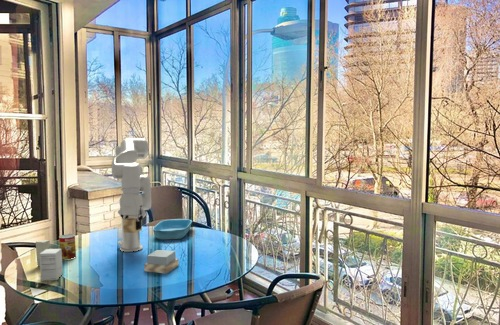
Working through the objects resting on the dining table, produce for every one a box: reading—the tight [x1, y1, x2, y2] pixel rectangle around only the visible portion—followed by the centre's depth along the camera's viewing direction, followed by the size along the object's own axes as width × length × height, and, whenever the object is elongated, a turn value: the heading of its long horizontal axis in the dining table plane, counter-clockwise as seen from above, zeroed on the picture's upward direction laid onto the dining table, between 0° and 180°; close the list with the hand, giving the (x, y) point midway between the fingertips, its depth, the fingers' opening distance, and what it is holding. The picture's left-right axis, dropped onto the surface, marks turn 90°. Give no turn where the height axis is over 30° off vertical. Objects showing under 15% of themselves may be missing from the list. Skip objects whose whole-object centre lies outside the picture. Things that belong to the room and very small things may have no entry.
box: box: [35, 239, 51, 267], centre depth 201 cm, size 5×4×13 cm
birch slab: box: [143, 258, 180, 275], centre depth 196 cm, size 12×12×4 cm
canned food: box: [58, 233, 77, 260], centre depth 213 cm, size 8×8×12 cm
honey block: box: [123, 217, 143, 233], centre depth 188 cm, size 6×6×6 cm
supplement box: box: [39, 248, 64, 282], centre depth 184 cm, size 7×7×13 cm
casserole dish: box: [152, 218, 193, 240], centre depth 263 cm, size 37×22×7 cm, turn 179°
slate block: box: [146, 249, 177, 265], centre depth 195 cm, size 10×10×4 cm
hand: (132, 228), depth 188 cm, fingers closed on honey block, 6 cm apart
